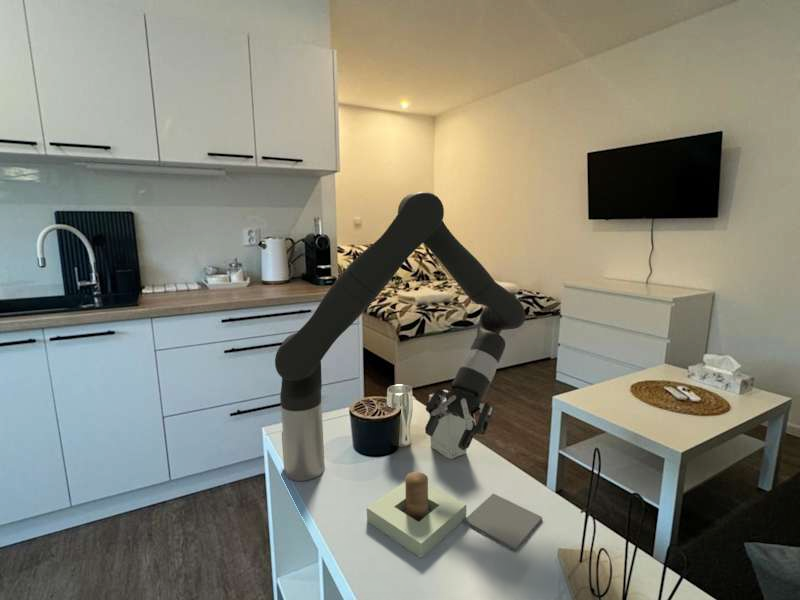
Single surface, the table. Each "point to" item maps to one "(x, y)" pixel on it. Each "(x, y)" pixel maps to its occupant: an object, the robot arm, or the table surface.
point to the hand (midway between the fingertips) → (444, 441)
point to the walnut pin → (416, 495)
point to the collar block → (409, 531)
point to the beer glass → (402, 409)
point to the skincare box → (448, 435)
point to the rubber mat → (503, 521)
